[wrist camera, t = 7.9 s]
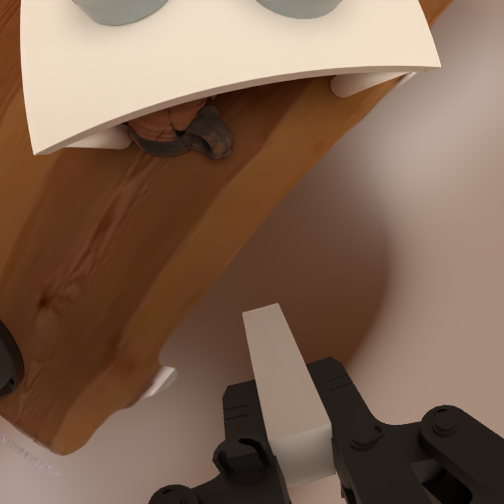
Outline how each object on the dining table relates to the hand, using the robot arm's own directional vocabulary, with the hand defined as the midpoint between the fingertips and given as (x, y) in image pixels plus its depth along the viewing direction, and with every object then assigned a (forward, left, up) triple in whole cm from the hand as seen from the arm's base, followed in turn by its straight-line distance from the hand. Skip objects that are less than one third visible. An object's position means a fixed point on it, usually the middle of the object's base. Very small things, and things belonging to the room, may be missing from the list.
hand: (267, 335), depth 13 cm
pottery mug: (-2, +13, -19) cm, 23 cm away
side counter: (+2, +18, -18) cm, 26 cm away
